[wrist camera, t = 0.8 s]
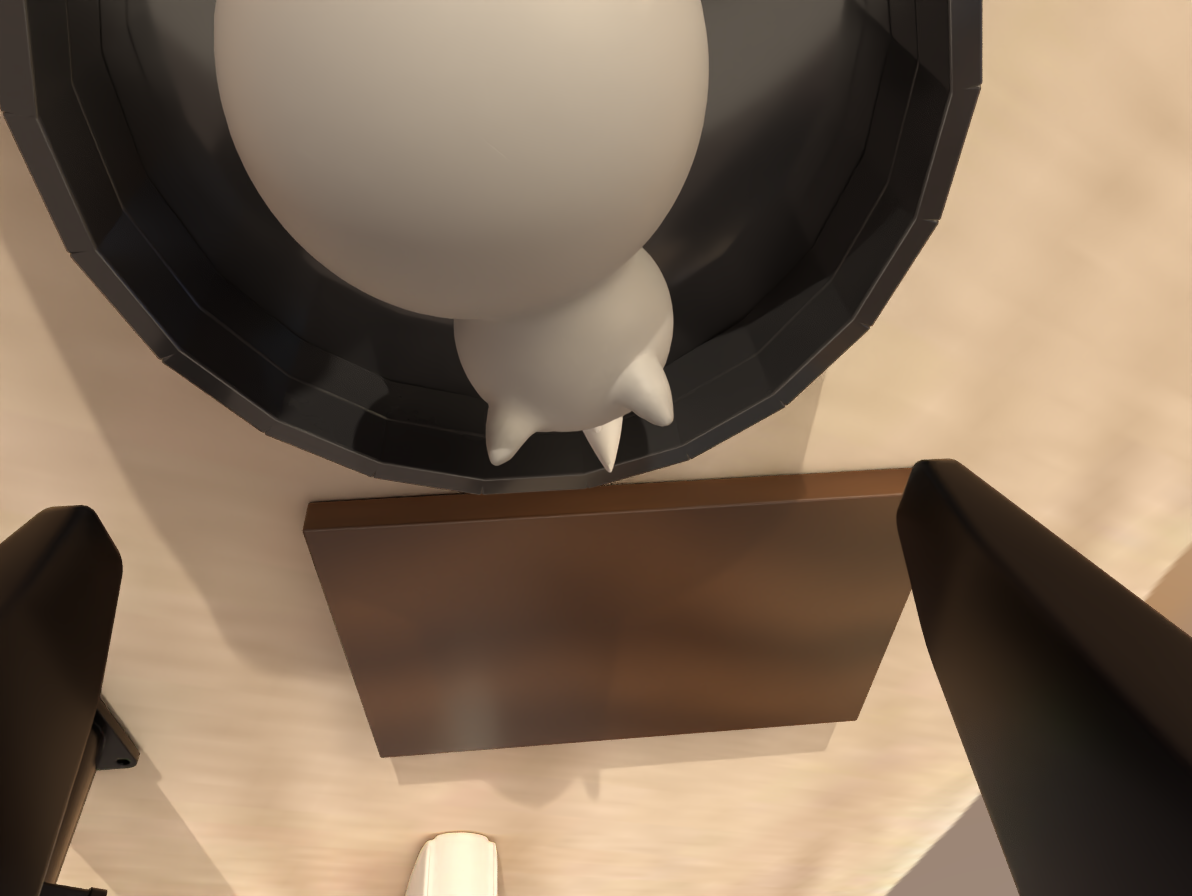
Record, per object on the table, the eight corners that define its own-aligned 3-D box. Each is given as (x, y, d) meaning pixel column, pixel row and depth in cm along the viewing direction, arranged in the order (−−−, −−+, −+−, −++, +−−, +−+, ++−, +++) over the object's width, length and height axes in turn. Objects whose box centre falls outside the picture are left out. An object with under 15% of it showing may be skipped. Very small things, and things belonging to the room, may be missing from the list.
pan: (825, 389, 25) (863, 473, 22) (221, 420, 24) (188, 513, 21) (1036, -478, 13) (1167, -510, 11) (-139, -501, 12) (-310, -542, 9)
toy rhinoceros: (450, 361, 23) (433, 628, 16) (203, -179, 14) (-15, -53, 8) (716, 294, 22) (804, 546, 16) (614, -314, 14) (711, -286, 8)
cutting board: (848, 696, 37) (857, 721, 36) (382, 731, 36) (380, 758, 35) (938, 465, 27) (953, 491, 27) (307, 501, 26) (301, 530, 25)
